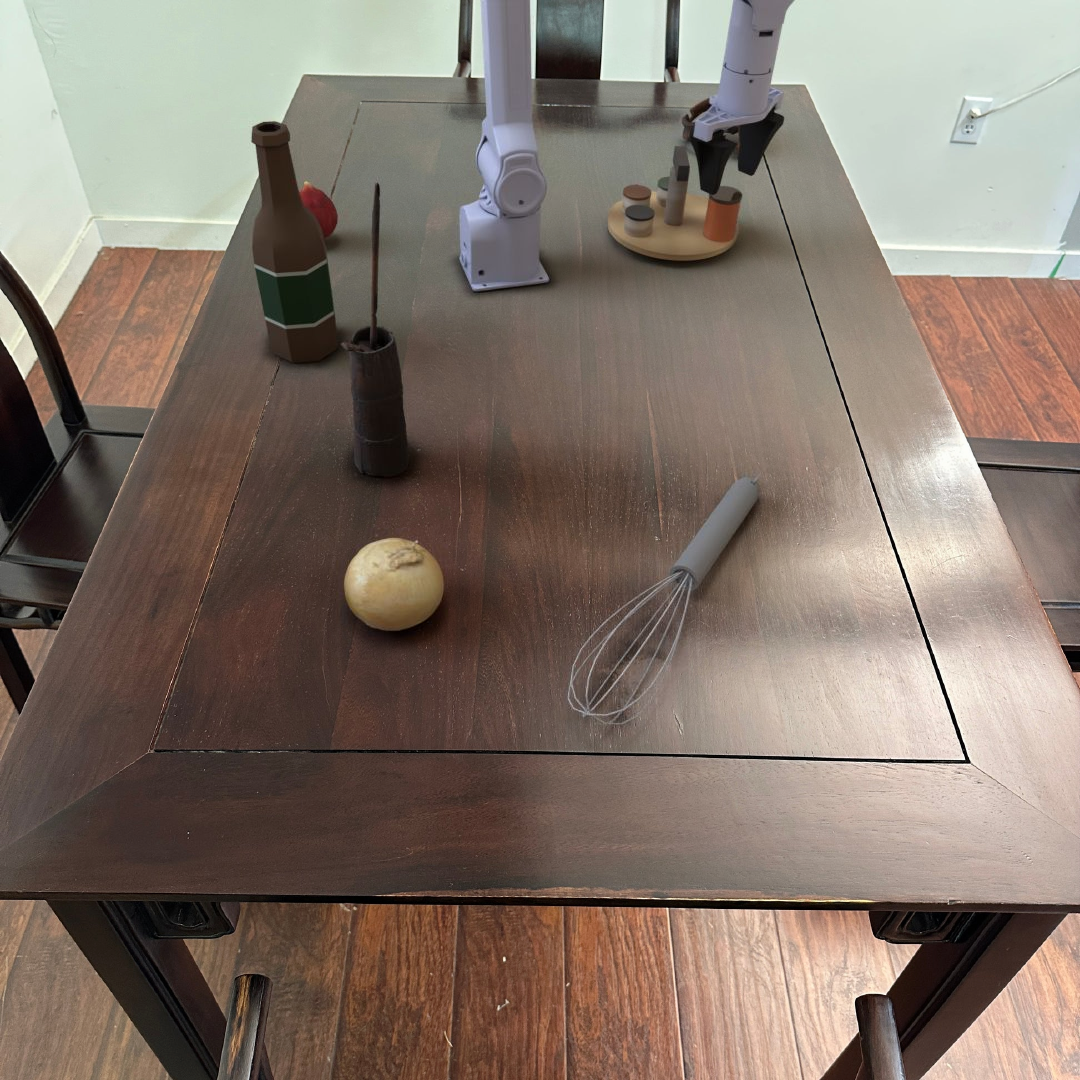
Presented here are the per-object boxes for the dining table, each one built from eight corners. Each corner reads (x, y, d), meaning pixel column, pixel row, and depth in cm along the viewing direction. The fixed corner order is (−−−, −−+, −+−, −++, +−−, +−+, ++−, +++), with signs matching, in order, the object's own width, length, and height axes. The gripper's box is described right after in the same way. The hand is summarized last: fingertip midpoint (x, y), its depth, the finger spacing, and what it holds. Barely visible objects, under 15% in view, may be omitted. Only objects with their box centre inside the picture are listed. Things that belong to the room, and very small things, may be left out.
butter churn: (338, 510, 89) (292, 228, 69) (315, 446, 95) (266, 170, 75) (434, 487, 91) (416, 208, 71) (405, 426, 97) (382, 154, 77)
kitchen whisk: (783, 496, 92) (798, 445, 87) (620, 761, 71) (628, 712, 67) (724, 473, 94) (735, 422, 89) (549, 724, 74) (552, 674, 69)
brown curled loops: (739, 171, 141) (718, 120, 136) (686, 181, 148) (664, 133, 143) (771, 122, 146) (752, 72, 141) (718, 134, 153) (698, 86, 148)
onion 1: (345, 233, 124) (338, 173, 118) (334, 256, 120) (326, 194, 114) (301, 230, 124) (291, 169, 119) (288, 252, 120) (278, 191, 115)
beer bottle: (326, 369, 104) (293, 149, 86) (258, 359, 104) (211, 138, 87) (350, 330, 109) (323, 115, 92) (285, 320, 110) (246, 105, 93)
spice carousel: (746, 263, 120) (761, 190, 113) (609, 258, 120) (616, 184, 113) (728, 198, 132) (741, 129, 125) (604, 194, 132) (610, 124, 125)
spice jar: (737, 242, 122) (745, 201, 118) (705, 242, 122) (712, 201, 118) (731, 226, 125) (738, 185, 121) (699, 226, 124) (706, 185, 121)
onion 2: (378, 660, 77) (369, 602, 72) (331, 598, 81) (320, 539, 76) (462, 616, 80) (460, 558, 75) (413, 558, 85) (408, 500, 80)
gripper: (757, 41, 114) (736, 154, 124) (680, 71, 107) (664, 188, 116) (807, 58, 111) (782, 172, 120) (731, 90, 103) (710, 209, 113)
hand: (727, 182), depth 118 cm, fingers open, 7 cm apart
